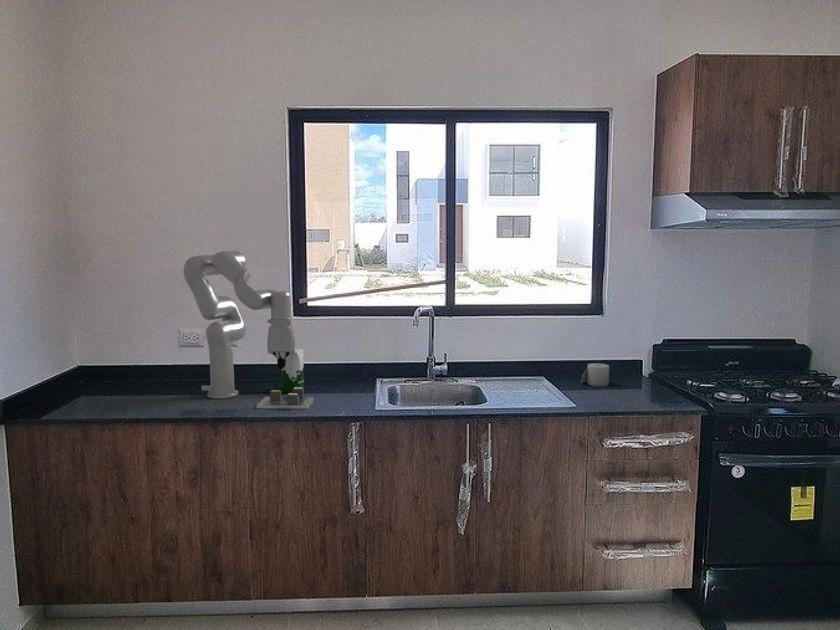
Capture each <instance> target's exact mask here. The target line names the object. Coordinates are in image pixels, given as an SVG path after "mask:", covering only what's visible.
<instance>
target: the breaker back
mask: <svg viewBox="0 0 840 630" xmlns="http://www.w3.org/2000/svg"><path fill="white" fill-rule="evenodd" d="M304 388H305V387H304ZM304 388H303V387H295V388H293V393H297V394H298V396H299V398H303V397H305V390H304Z"/></svg>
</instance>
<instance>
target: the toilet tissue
mask: <svg viewBox="0 0 840 630" xmlns="http://www.w3.org/2000/svg"><path fill="white" fill-rule="evenodd" d="M609 379H610V365H608V364H606V363H597V362H595V363H588V364H587V366H586V369H585V370H584V372H583V373H582V376H581V380H580V384H587V385H589V386H594V387H607V386H609V382H610V381H609Z"/></svg>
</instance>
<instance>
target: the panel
mask: <svg viewBox="0 0 840 630" xmlns="http://www.w3.org/2000/svg"><path fill="white" fill-rule="evenodd" d="M314 401H315V398H314V396H313V397H312V396H304V397H303V398H299V403H298V405H287V396H281V401H270V396H265V397H264V398H263V399H261V401H260V402H258V404H256V409H257V410H258V409H260V410H262V409H267V410H268V409H270V410H271V409H273V410H274V409H275V410H276V409H279V410H280V409H286V410H287V409H289V410H290V409H293V410H294V409H295V410H297V409H301V410H304V409H305V410H306V409H309V407H310V406H311V404H313V402H314Z"/></svg>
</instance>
